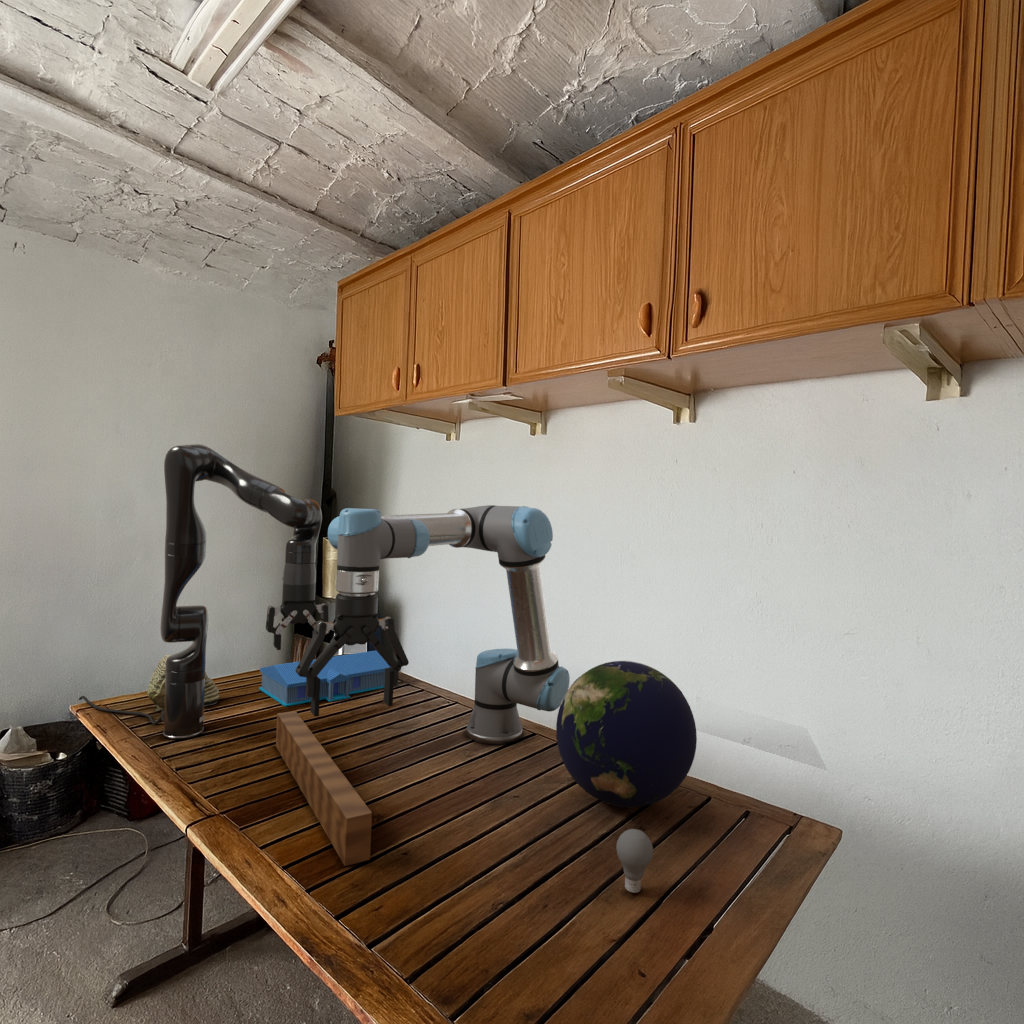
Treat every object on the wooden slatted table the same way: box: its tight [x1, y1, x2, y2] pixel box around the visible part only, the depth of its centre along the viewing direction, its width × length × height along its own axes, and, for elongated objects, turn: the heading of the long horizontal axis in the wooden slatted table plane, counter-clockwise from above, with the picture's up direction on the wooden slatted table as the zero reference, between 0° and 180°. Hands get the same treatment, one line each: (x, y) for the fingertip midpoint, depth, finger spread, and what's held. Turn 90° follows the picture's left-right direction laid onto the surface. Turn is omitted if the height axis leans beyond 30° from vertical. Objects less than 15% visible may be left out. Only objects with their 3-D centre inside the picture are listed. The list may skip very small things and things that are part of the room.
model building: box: [258, 650, 390, 707], centre depth 208 cm, size 39×24×10 cm, turn 132°
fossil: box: [147, 654, 221, 712], centre depth 185 cm, size 9×18×15 cm, turn 132°
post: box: [275, 710, 373, 867], centre depth 135 cm, size 59×4×8 cm, turn 32°
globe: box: [555, 660, 698, 809], centre depth 138 cm, size 30×30×30 cm
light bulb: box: [615, 828, 654, 894], centre depth 106 cm, size 6×6×10 cm
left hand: (296, 647), depth 153 cm, fingers open, 8 cm apart
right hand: (352, 709), depth 116 cm, fingers open, 13 cm apart
